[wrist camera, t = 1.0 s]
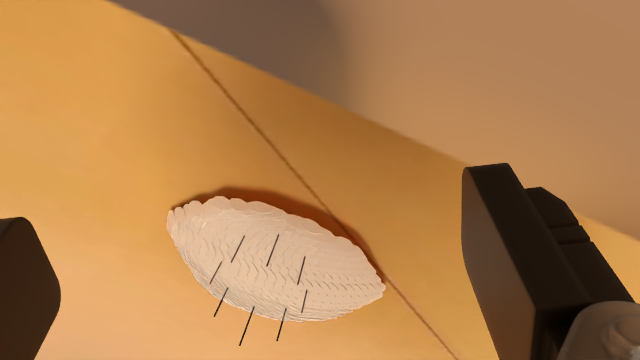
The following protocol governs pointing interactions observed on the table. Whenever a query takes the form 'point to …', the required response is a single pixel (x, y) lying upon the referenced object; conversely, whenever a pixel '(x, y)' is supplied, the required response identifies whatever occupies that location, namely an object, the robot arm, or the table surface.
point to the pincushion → (272, 261)
